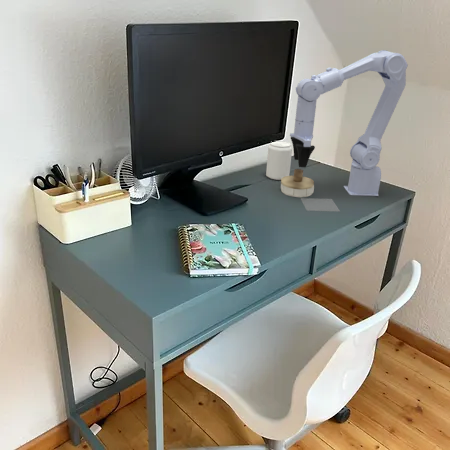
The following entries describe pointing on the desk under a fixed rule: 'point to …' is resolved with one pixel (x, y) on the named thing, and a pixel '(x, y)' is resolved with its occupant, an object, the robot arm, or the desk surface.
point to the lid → (297, 181)
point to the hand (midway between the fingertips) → (299, 163)
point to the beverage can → (278, 160)
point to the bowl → (297, 191)
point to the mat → (319, 204)
